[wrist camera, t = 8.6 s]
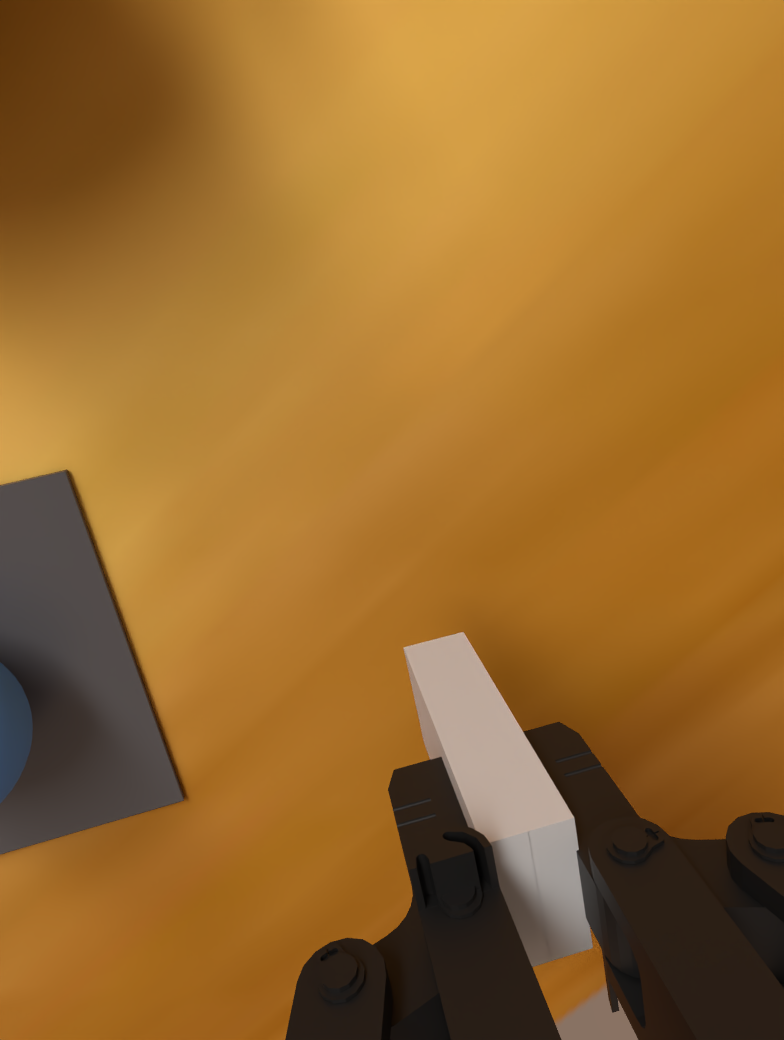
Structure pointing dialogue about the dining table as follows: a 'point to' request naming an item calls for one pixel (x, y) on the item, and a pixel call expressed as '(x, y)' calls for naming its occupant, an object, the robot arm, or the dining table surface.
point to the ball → (13, 731)
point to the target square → (71, 676)
